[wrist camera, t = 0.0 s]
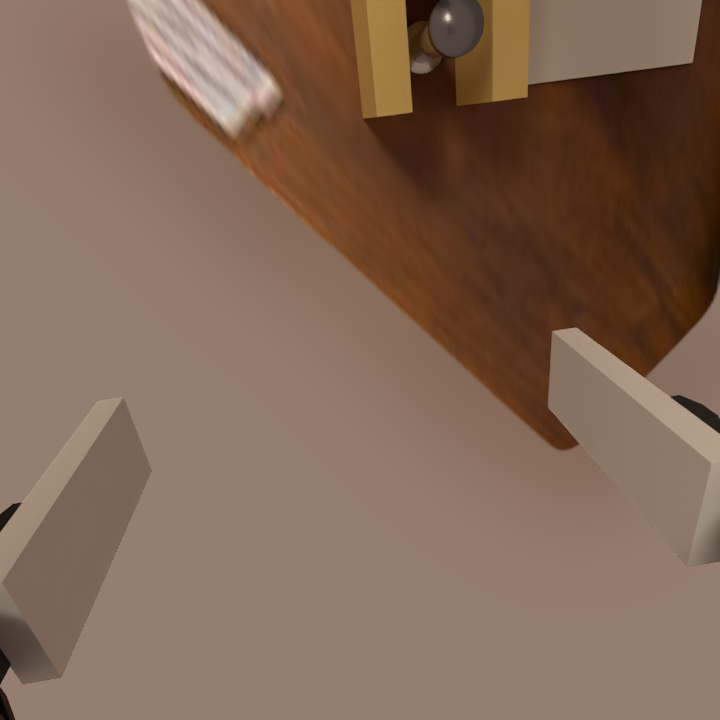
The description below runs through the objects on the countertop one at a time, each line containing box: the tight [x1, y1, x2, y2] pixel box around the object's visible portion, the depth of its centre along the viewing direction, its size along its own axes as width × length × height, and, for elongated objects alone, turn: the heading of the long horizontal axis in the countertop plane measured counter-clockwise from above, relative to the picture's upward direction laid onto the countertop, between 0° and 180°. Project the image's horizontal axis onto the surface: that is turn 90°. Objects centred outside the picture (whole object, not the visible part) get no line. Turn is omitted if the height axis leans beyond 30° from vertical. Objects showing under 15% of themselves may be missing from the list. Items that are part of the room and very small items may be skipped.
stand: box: [407, 0, 484, 74], centre depth 31 cm, size 3×3×10 cm
